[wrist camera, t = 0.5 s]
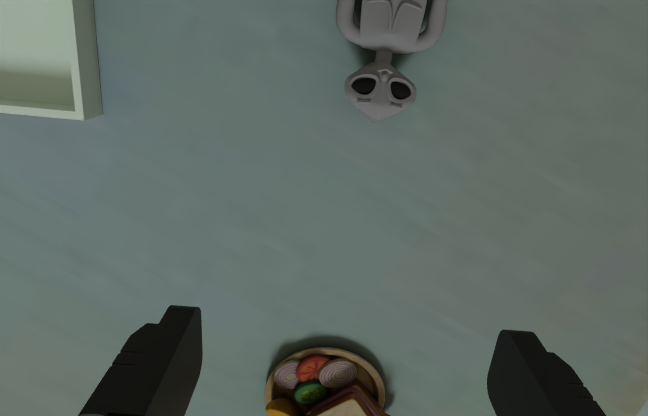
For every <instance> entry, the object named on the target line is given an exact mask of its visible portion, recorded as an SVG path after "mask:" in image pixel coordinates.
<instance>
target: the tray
mask: <svg viewBox="0 0 648 416" xmlns="http://www.w3.org/2000/svg"><path fill="white" fill-rule="evenodd" d="M0 113H10V114H21V115H31V116H42V117H53V118H64V119H75V120H87V119H90V118H93V117H96V116H99V115H102V114H103V112H102V100H101V88H100V76H99V64H98V52H97V40H96V29H95V17H94V5H93V0H0Z"/></svg>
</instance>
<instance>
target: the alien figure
mask: <svg viewBox="0 0 648 416" xmlns="http://www.w3.org/2000/svg"><path fill="white" fill-rule="evenodd" d="M447 2H448V0H433V2H432V5H431V9H430V13H429V17H428V22H427V26H426V28H425V30H424V31H423V32H422V33H420V34H419V32H420V29H421V25H422V22H423V17H424V13H425V9H426V4H427V0H362V7H361V20H360V26H359V25H357V24H356V23H355V21H354V6H355V0H338V1H337V7H336V22H337V26H338V29H339V30H340V32H341V34H342V35H343V36H344V37H345V38H346V39H348V40H349V41H351V42H353V43H355V44H358V45H360V46H361V47H362V48H365V49H369V50H373V51H377V52H376V59H375V60H374V61H373V62H371V63H370V64H368V65H366V66H365V67H363V68H361V69H360V70H358V71H357V72H355V73H353V74H352V75H350V76H349V77H348V78H347V79H346V82H345V93H346V96H347V97H348V99H349V100H350V102H351V103H352V104H353V105H354V106H355V107H357V108H358V109H359V110H360V111H361V112H362V113H364V114H365V115H366V116H367V117H368V118H369V119H371V120H372V121H373V122H374V121H375V122H377V121H380V120H383V119H385V118H388V117H390V116H393V115H395V114H398V113H400V112H402V111H404V110H405V109H407V108H408V107H410V106H411V105H412V104H413V102H414V100H415V97H416V87H415V85H414V84H413V83H412V82H411V81H410V80H408V79H407V78H406V77H405V76H404V75H403V74H401V73H400V72H399V71H398V70H397V69H395V68H394V67H393V66H392V65H391V60H392V54H409V53H410V52H419V51H423V50H426V49H428V48H430V47H431V46H433V45H434V44H435V43H436V42H437V41H438V39H439V38H440V36H441V34H442V32H443V29H444V25H445V20H446V13H447Z"/></svg>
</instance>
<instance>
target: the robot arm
mask: <svg viewBox="0 0 648 416" xmlns="http://www.w3.org/2000/svg"><path fill="white" fill-rule="evenodd" d="M201 365H202V326H201V310H200V308H199V307H189V306H175V305H171V306H169V307H168V309H167V311H166V312H165V314H164V316H163V318H162V319H161V321H160V323H159V324H151V323H147V324H145V325H144V326H143V327H141V328H140V329H139V330H137V331H136V332H135V333H133V334H132V335H131V336H130V337H129V339H128V340H127V342H126V343H125V345H124V346H123V348H122V349H121V352H120V354H118V355H117V357H116V358H115V360H114V361H113V363H112V366H110V368H109V369H108V371H107V372H106V374H105V375H104V377H103V378H102V380H101V381H100V383H99V384H98V386H97V388H96V389H95V391H94V392H93V394H92V395H91V397H90V398H89V400H88V401H87V403H86V404H85V406H84V407H83V409H82V410H81V412H80V414H79V415H78V416H184V415H185V413H186V410H187V407H188V405H189V402H190V399H191V397H192V394H193V392H194V389H195V386H196V384H197V381H198V378H199V375H200V371H201ZM487 389H488V395H489V399H490V401H491V403H492V406H493V408H494V410H495V413H496V415H497V416H606V415H605V413H604V412H603V411H602V409H601V408H600V406H599V405H598V404H597V402H596V401H593V397H592V395H591V394H590V392H589V391H588V390H587V388H586V387H584V386H583V383H582V381H581V380H580V378H579V377H578V376H577V374H576V373H575V371H574V370H573V369H572V367H571V366H569V365H568V364H567V363H566V362H564V361H563V360H562V359H561V358H560V357H558V356H557V355H556V354H555V353H550V352H547V351H546V349H545V348H544V346H543V345H542V343H541V342H540V340H539V339H538V338H537V336H536V335H535V334H534V333H533V332H529V331H515V330H502V331H501V332H500V333H499V336H498V339H497V343H496V346H495V350H494V354H493V357H492V361H491V365H490V368H489V372H488V377H487Z"/></svg>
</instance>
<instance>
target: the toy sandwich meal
mask: <svg viewBox="0 0 648 416" xmlns="http://www.w3.org/2000/svg"><path fill="white" fill-rule="evenodd" d="M265 402H266V412H267V413H268V414H269V415H270V416H390V415H388V414H386V413H385V412H384V411H383V407H384V403H385V388H384V384H383V381H382V379H381V377H380V375H379V373H378V372H377V371H376V369H375V368H374V367H373V366H372V365H371V364H370V363H369V362H367V361H366V360H365V359H363V358H362V357H360V356H358V355H356V354H354V353H352V352H349V351H347V350H343V349H338V348H331V347H319V348H311V349H306V350H303V351H300V352H297V353H295V354H293V355H291V356H289V357H288V358H286V359H285V360H283V361H282V362H281V363H280V364H279V365H278V366H277V367H276V368H275V369H274V370H273V372H272V373H271V375H270V376H269V378H268V381H267V383H266V387H265Z"/></svg>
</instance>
